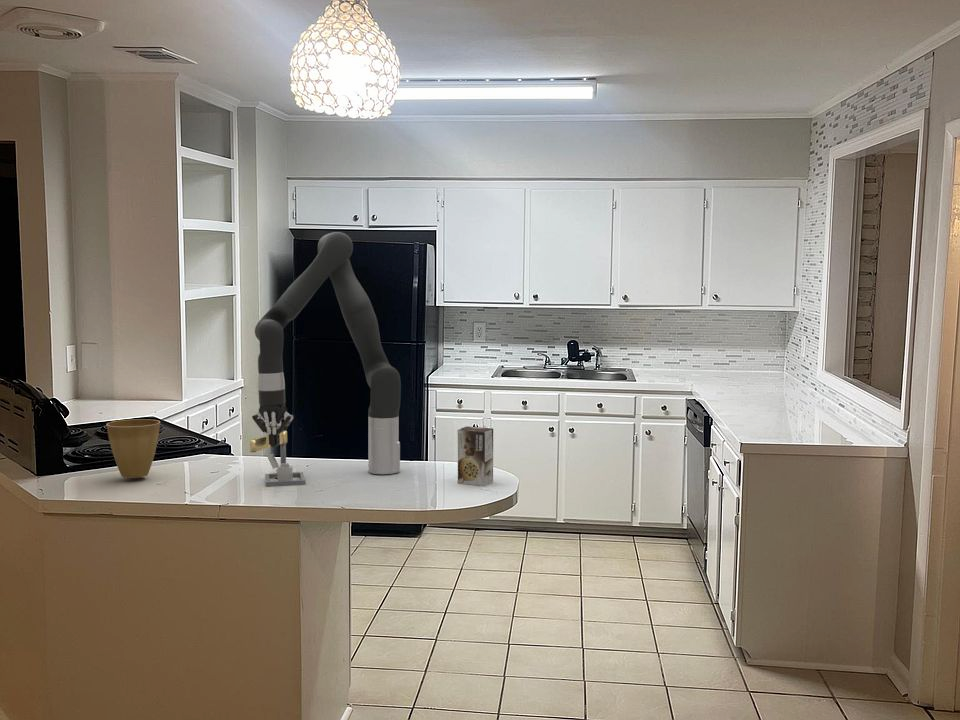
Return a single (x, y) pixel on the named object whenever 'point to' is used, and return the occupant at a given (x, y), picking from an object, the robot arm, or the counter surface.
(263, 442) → the gold bar
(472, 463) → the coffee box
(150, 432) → the plant pot
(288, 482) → the switch
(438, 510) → the counter surface
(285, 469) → the grey angled piece
